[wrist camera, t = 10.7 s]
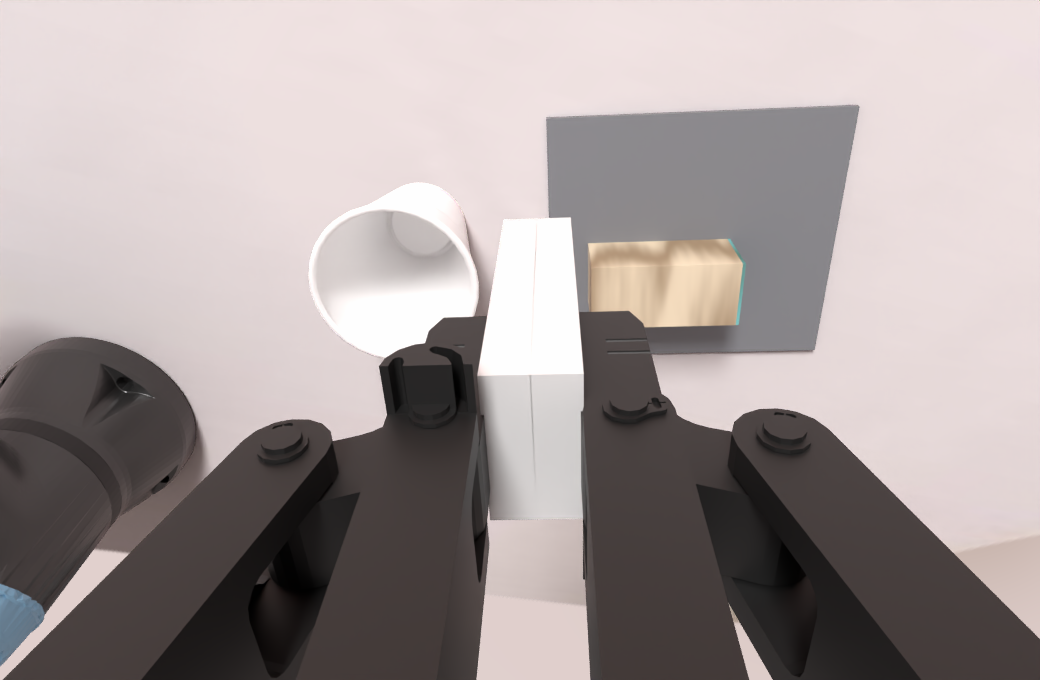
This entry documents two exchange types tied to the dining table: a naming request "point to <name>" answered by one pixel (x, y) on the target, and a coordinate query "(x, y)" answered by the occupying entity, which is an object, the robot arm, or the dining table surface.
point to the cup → (394, 269)
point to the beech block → (668, 281)
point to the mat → (713, 205)
